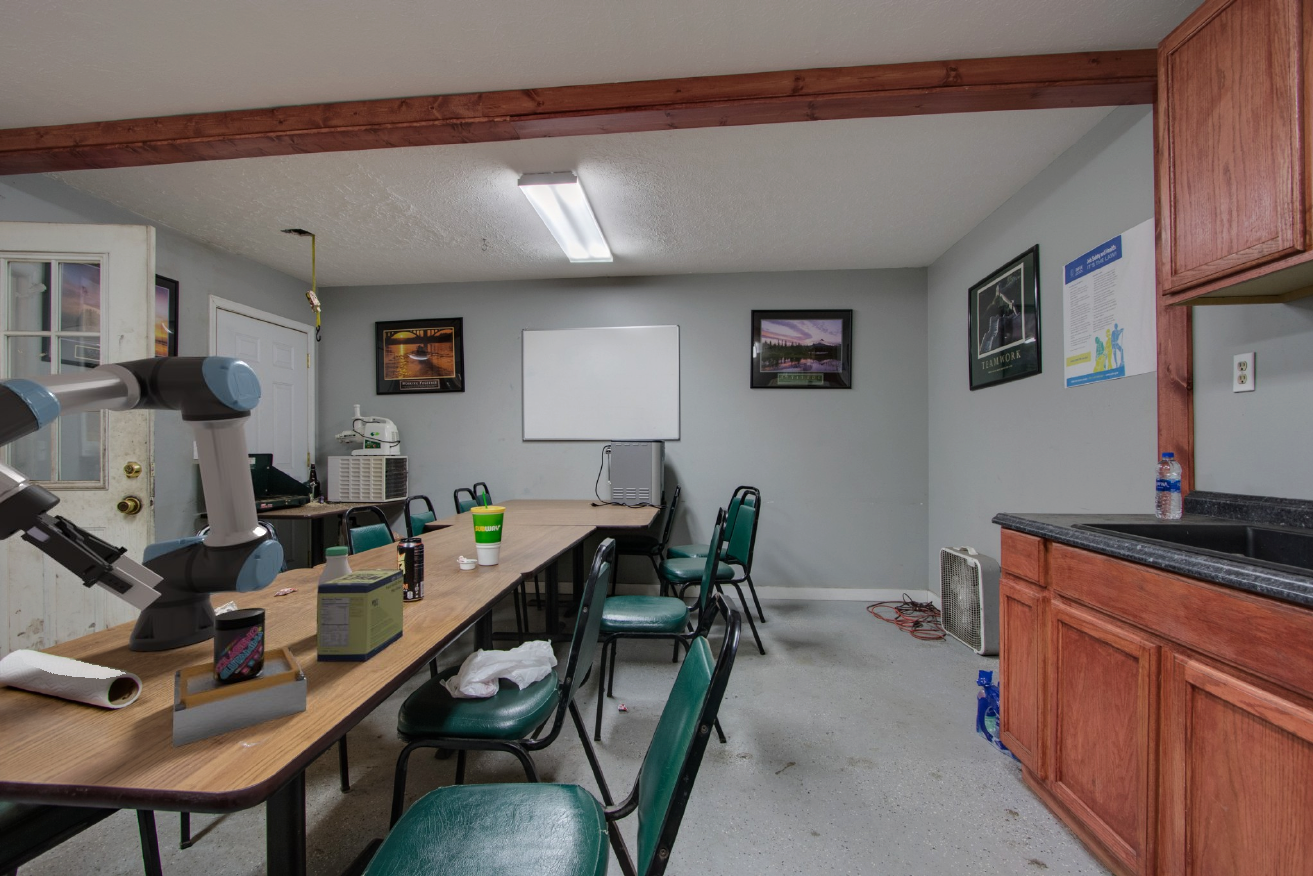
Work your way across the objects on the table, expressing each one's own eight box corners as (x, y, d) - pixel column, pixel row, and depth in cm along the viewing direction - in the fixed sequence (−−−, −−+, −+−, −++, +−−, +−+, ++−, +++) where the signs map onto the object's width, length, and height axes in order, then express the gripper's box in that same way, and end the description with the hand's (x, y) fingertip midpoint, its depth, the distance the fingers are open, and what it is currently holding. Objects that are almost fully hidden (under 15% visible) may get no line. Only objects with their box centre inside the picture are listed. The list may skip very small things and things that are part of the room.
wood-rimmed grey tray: (174, 704, 87) (174, 667, 87) (289, 676, 98) (289, 643, 98) (172, 748, 74) (173, 703, 74) (306, 710, 85) (306, 671, 85)
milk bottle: (333, 626, 127) (334, 544, 128) (362, 627, 126) (363, 545, 127) (308, 637, 120) (309, 550, 120) (338, 638, 119) (339, 550, 119)
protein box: (403, 635, 120) (404, 568, 121) (366, 662, 105) (367, 584, 105) (359, 636, 120) (360, 568, 121) (315, 662, 105) (316, 585, 105)
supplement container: (201, 687, 82) (203, 621, 83) (229, 670, 89) (230, 609, 89) (249, 684, 83) (250, 618, 84) (273, 667, 90) (274, 606, 90)
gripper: (-6, 515, 77) (133, 598, 87) (-64, 533, 59) (121, 635, 68) (49, 479, 81) (177, 562, 91) (12, 484, 63) (177, 587, 72)
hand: (153, 593), depth 80 cm, fingers open, 13 cm apart
